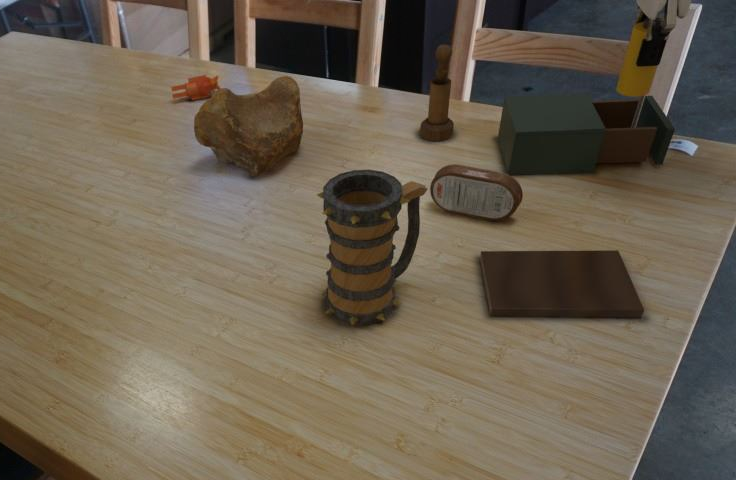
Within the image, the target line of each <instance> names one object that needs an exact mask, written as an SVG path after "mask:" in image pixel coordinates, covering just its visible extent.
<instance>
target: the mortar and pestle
mask: <svg viewBox="0 0 736 480" xmlns="http://www.w3.org/2000/svg"><path fill="white" fill-rule="evenodd" d="M435 50H436V51H435V58H436V60H437V62H438V67H436V69H435V73H436V77H434V78H432V79H431V80H430V87H429V98H428V99H429V100H428V109H427V111H428V112H427V117H426V118H425V119H424V120H422V121H421V122H420V127H419V136H420V138H421V139H423V140H426V141H431V142H442V141H445V140H448V139H449V138H451V137H452V136H453V134H454V125H455V124H454V121H453V120H452V119H451V118H450V117H449V109H450V98H451V90H452V79H450V78H449V77H447V76H448V74H449V67H448V62H449V60H450V59H451V57H452V55H453V49H452V46H451V45H449V44H446V43H443V44H439V46H438V47H437V48H436V49H435Z"/></svg>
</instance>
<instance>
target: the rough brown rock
mask: <svg viewBox="0 0 736 480" xmlns="http://www.w3.org/2000/svg"><path fill="white" fill-rule="evenodd" d="M300 92H301V91H300V87H299V84H298V82H297V81H296V80H295V79H294V78H293V77H291V76H288V75H284V76H279V77H276V78H275V79H274V80H272V81H271V82H270V84H269V85H268V86H266V87H265V88H264V89H263V90H261V91H260V92H257V93H255V92H254V93H247V94H236V93H234V92H233V91H232V90H230V89H229V88H227V87H220V89H215V91H213V92H212V93H211V97H210V98H208V99H206V101H204V102H203V103H202V104H201V106H200V107H199V110H198V112H197V113H196V114H195V115H194V119H193V132H194V137H195V139H196V141H197V143H199V145H200V146H203V147H206V148H210V149H211V151H212V152H213V154H214V156H215V158H216V159H217V161H218V162H221V163H224V164H230V163H234V164H235V166H236V167H239V168H241V169H242V170H243V171H244V172H246V173H247V174H249V176H252V177H258V176H260V175H262V174H264V173H266V172H267V171H268V170H270V169H271V168H272V167H273V166H274V165H276V163H277V162H279V161H280V160H281V159H282V158H284V157H286V156H287V155H291V154H292V153H294V152H296V151H297V150H298V149H299V148H300V145H301V142H302V136H303V134H304V121H303V120H304V119H303V114H302V107H301V95H300V94H301V93H300Z"/></svg>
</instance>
